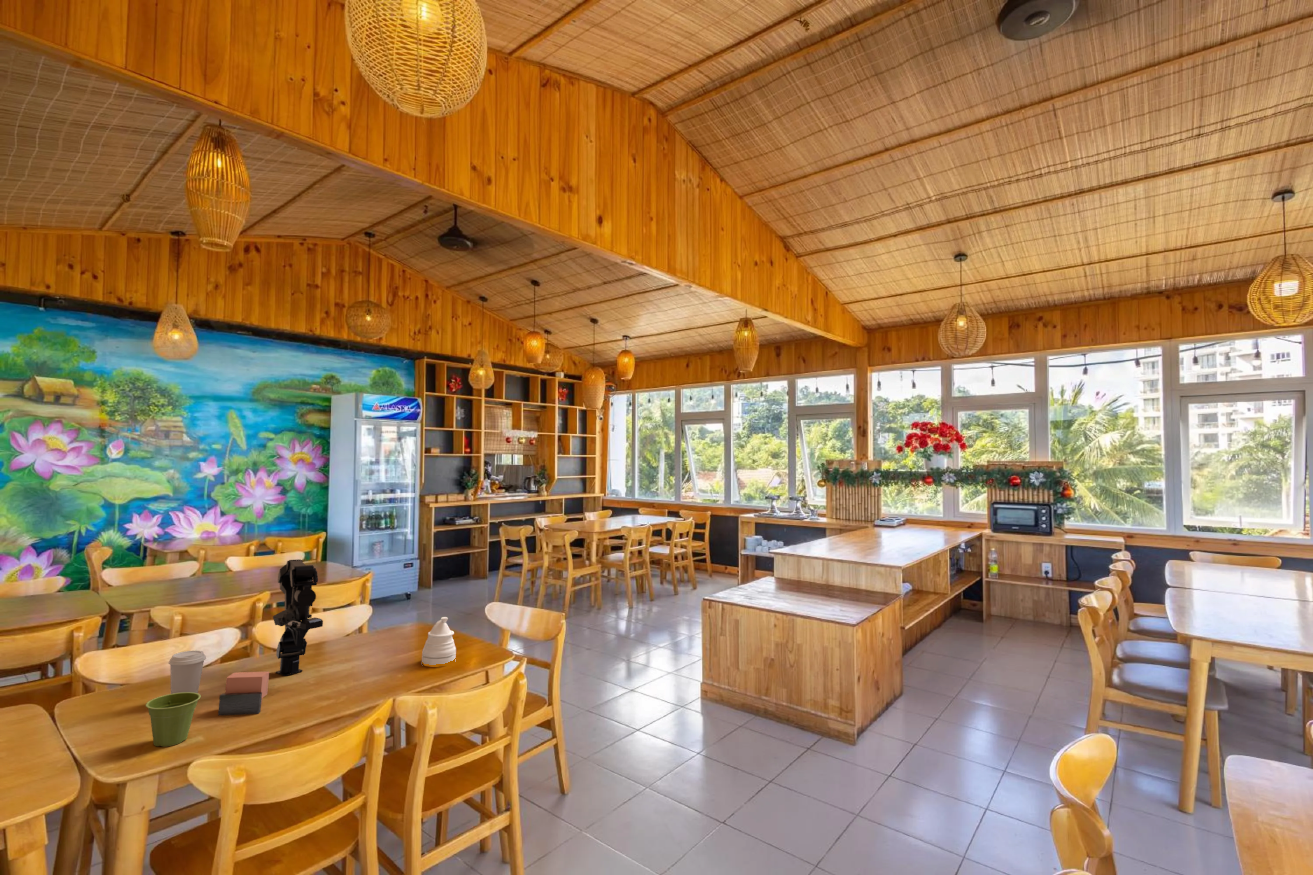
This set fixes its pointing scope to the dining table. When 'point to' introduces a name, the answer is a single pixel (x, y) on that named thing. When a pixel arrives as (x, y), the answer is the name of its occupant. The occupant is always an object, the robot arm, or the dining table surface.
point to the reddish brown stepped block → (247, 682)
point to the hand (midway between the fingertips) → (297, 645)
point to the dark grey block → (240, 703)
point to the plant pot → (172, 717)
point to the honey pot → (439, 644)
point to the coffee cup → (186, 671)
